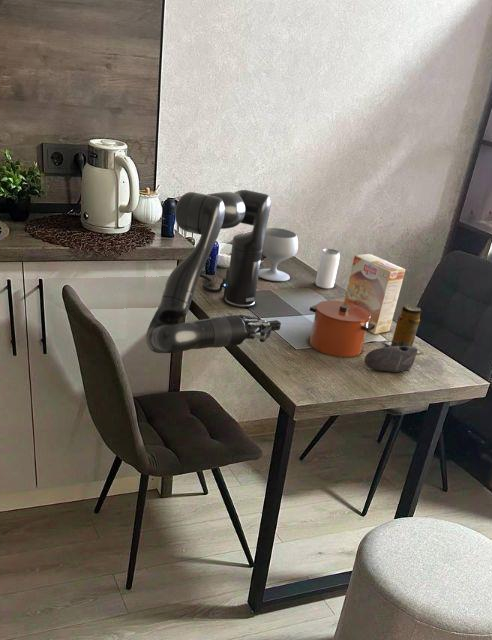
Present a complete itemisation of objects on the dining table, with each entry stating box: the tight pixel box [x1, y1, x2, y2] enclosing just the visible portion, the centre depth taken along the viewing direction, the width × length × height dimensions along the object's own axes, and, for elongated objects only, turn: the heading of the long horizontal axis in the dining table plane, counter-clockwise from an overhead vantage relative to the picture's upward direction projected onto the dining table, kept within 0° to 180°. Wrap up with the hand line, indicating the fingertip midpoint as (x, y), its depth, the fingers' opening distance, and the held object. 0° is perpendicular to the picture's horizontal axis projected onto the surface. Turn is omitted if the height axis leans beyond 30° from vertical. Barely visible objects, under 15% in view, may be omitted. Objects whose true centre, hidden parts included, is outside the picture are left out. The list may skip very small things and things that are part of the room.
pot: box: [309, 299, 375, 358], centre depth 204 cm, size 19×15×12 cm
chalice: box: [258, 227, 299, 282], centre depth 249 cm, size 14×14×15 cm
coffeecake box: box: [343, 253, 406, 335], centre depth 220 cm, size 15×7×20 cm, turn 36°
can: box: [314, 248, 341, 290], centre depth 248 cm, size 6×6×12 cm
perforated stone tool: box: [364, 346, 418, 373], centre depth 195 cm, size 15×5×7 cm, turn 98°
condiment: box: [384, 304, 422, 354], centre depth 209 cm, size 7×8×12 cm
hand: (278, 324), depth 191 cm, fingers closed
